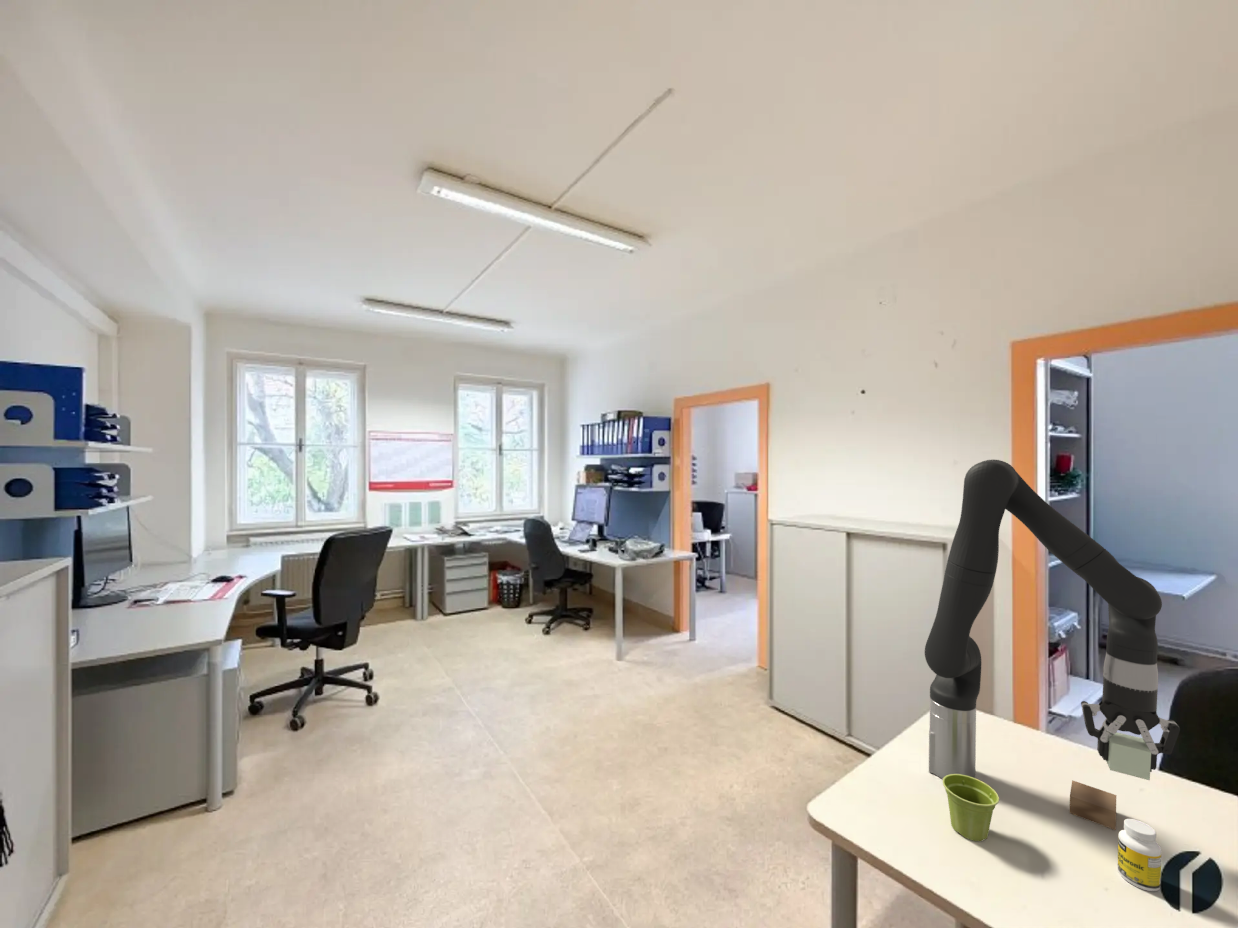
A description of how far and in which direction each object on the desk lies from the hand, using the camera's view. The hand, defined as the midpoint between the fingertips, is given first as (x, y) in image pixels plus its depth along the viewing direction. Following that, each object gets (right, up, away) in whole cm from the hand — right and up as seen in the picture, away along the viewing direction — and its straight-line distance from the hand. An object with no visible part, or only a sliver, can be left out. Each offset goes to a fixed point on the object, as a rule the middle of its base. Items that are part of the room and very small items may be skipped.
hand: (1125, 763), depth 100 cm
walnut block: (0, -15, +7) cm, 17 cm away
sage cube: (0, -1, 0) cm, 1 cm away
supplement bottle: (-7, -16, -9) cm, 19 cm away
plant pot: (-29, -15, +3) cm, 33 cm away
